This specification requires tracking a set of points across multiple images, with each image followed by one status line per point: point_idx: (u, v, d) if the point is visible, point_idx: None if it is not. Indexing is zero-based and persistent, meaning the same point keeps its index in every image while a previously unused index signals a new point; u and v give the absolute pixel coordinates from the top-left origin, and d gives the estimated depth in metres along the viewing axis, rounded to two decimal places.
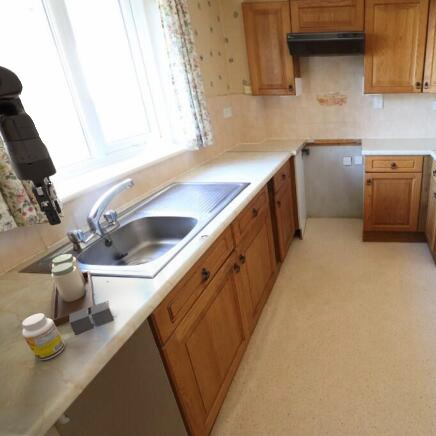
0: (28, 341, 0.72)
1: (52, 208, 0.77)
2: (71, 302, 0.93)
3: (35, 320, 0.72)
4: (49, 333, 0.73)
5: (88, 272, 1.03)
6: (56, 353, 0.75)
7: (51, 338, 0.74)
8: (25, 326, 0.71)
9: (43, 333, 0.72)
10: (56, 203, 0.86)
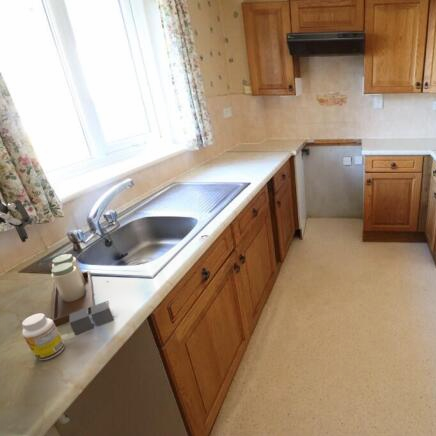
0: (28, 341, 0.72)
1: (31, 221, 0.80)
2: (71, 302, 0.93)
3: (35, 320, 0.72)
4: (49, 333, 0.73)
5: (88, 272, 1.03)
6: (56, 353, 0.75)
7: (51, 338, 0.74)
8: (25, 326, 0.71)
9: (43, 333, 0.72)
10: None
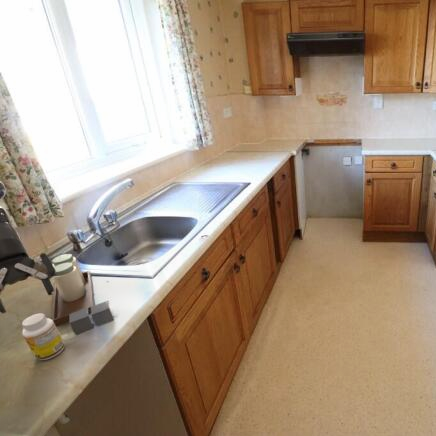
0: (28, 341, 0.72)
1: (56, 273, 0.82)
2: (71, 302, 0.93)
3: (35, 320, 0.72)
4: (49, 333, 0.73)
5: (88, 272, 1.03)
6: (56, 353, 0.75)
7: (51, 338, 0.74)
8: (25, 326, 0.71)
9: (43, 333, 0.72)
10: (1, 301, 0.75)
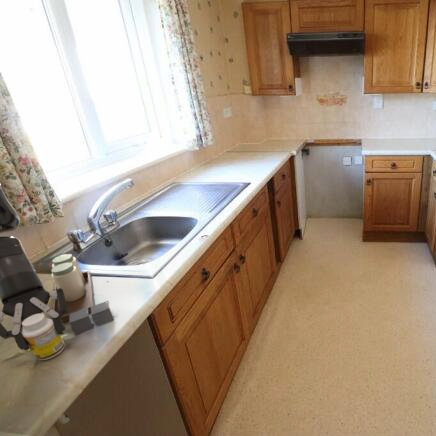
0: (28, 341, 0.72)
1: (67, 311, 0.79)
2: (71, 302, 0.93)
3: (35, 320, 0.72)
4: (49, 333, 0.73)
5: (88, 272, 1.03)
6: (56, 353, 0.75)
7: (51, 338, 0.74)
8: (25, 326, 0.71)
9: (43, 333, 0.72)
10: None
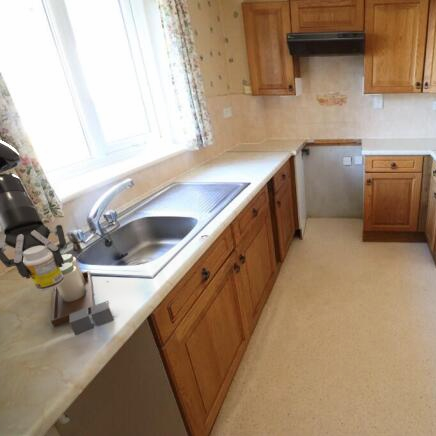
0: (29, 270, 0.76)
1: (66, 246, 0.83)
2: (71, 302, 0.93)
3: (36, 250, 0.76)
4: (49, 263, 0.77)
5: (88, 272, 1.03)
6: (56, 284, 0.79)
7: (51, 269, 0.78)
8: (26, 254, 0.75)
9: (43, 263, 0.76)
10: None
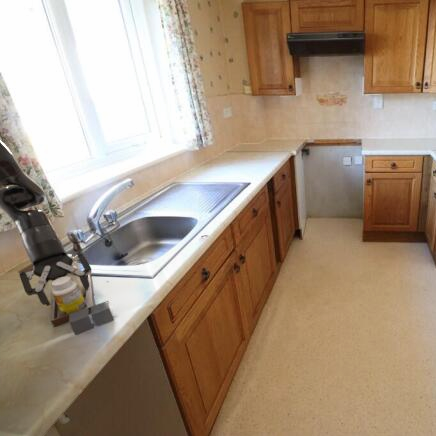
0: (57, 299, 0.84)
1: (91, 270, 0.92)
2: None
3: (63, 281, 0.84)
4: (74, 292, 0.86)
5: None
6: None
7: (76, 297, 0.86)
8: (54, 286, 0.83)
9: (69, 293, 0.85)
10: (45, 295, 0.84)
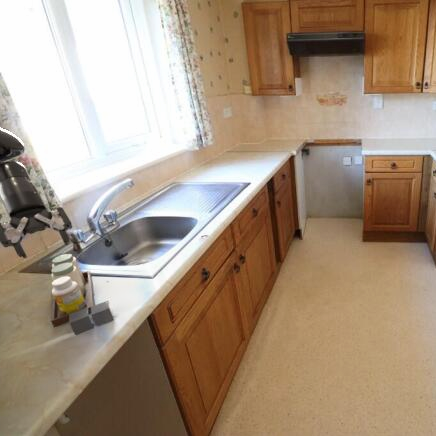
0: (57, 299, 0.84)
1: (71, 226, 0.88)
2: None
3: (63, 281, 0.84)
4: (74, 292, 0.86)
5: (88, 272, 1.03)
6: None
7: (76, 297, 0.86)
8: (54, 286, 0.83)
9: (69, 293, 0.85)
10: (22, 247, 0.81)
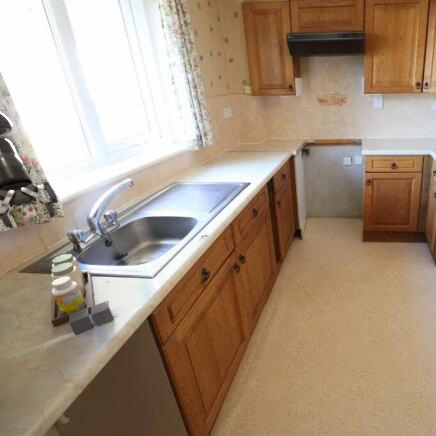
0: (57, 299, 0.84)
1: (57, 200, 0.92)
2: None
3: (63, 281, 0.84)
4: (74, 292, 0.86)
5: (88, 272, 1.03)
6: None
7: (76, 297, 0.86)
8: (54, 286, 0.83)
9: (69, 293, 0.85)
10: None
